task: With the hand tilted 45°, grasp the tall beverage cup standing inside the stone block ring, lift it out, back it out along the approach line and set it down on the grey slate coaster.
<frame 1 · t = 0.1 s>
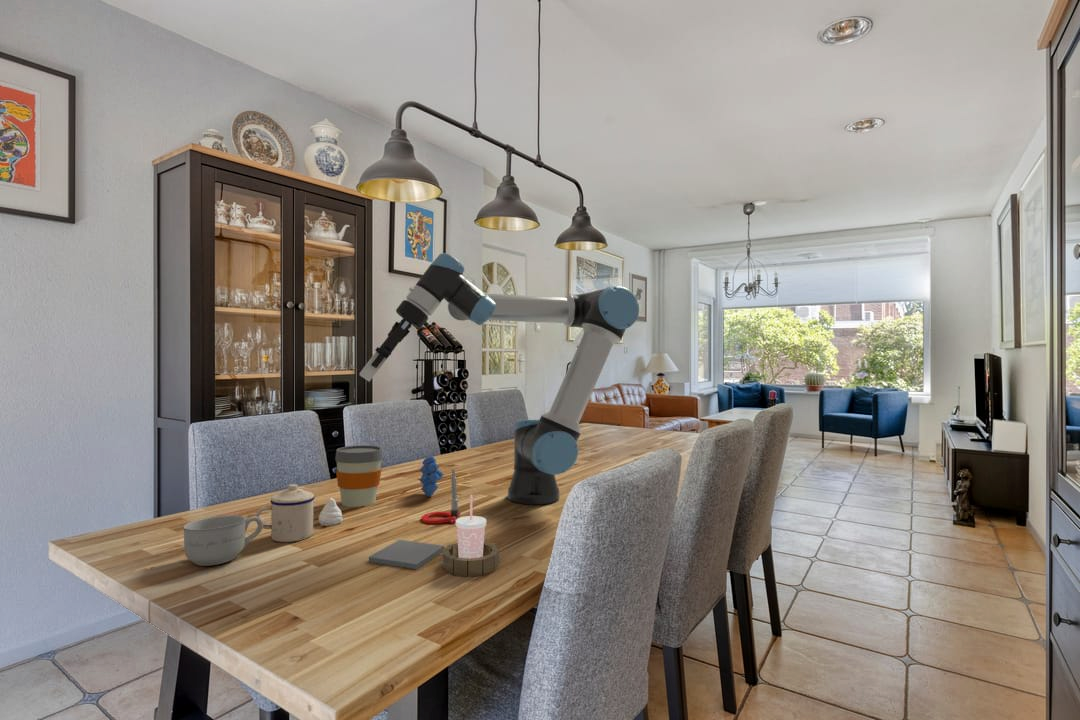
hand: (363, 377, 133), 36 cm above the table, tool tilted 35°, fingers open, 13 cm apart
coaster: (407, 556, 114), on the table
stone block ring: (470, 565, 109), on the table
beverage cup: (470, 566, 109), resting in stone block ring
tow hook: (439, 520, 139), on the table
white meringue swirl: (330, 524, 135), on the table
teacup: (224, 560, 110), on the table
teacup with lid: (285, 538, 124), on the table
reusable coffee cup: (358, 503, 153), on the table
grapes: (432, 496, 162), on the table
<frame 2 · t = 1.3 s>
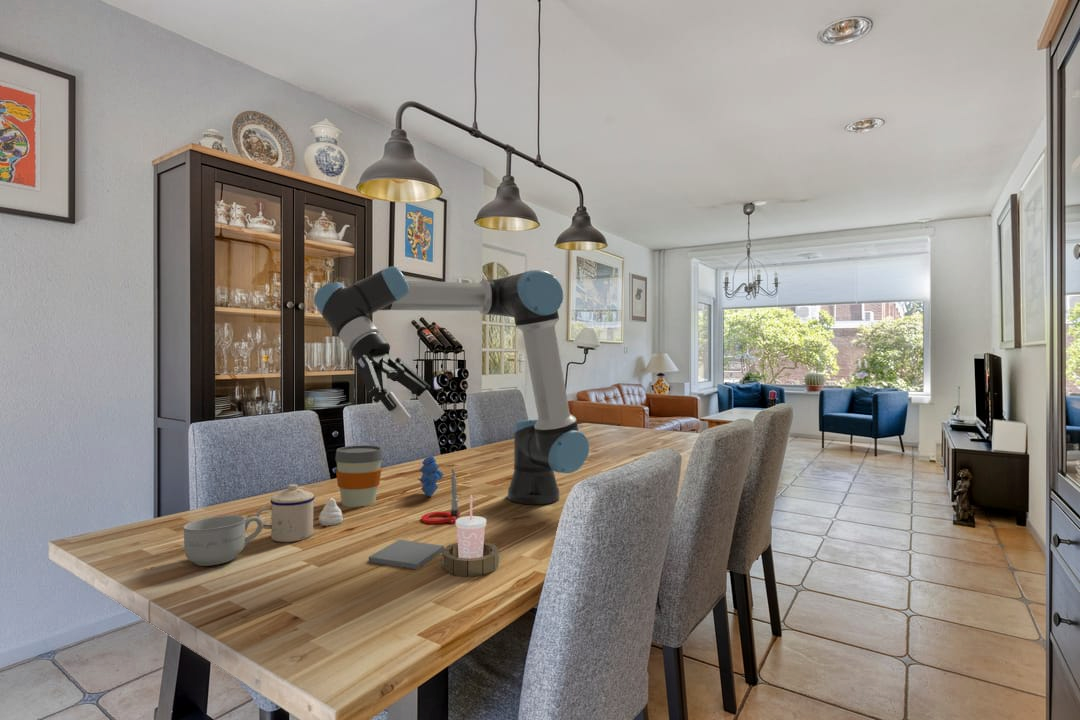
hand: (423, 419, 113), 28 cm above the table, tool tilted 45°, fingers open, 13 cm apart
nothing on the table moved.
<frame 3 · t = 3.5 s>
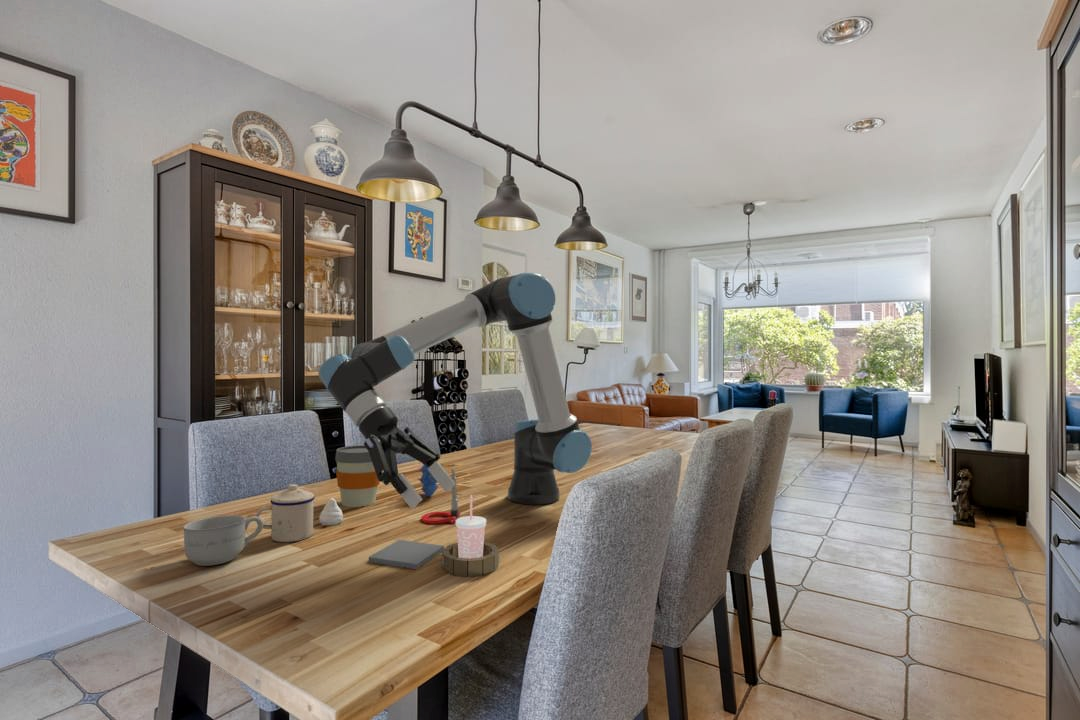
hand: (435, 496, 111), 13 cm above the table, tool tilted 45°, fingers open, 13 cm apart
nothing on the table moved.
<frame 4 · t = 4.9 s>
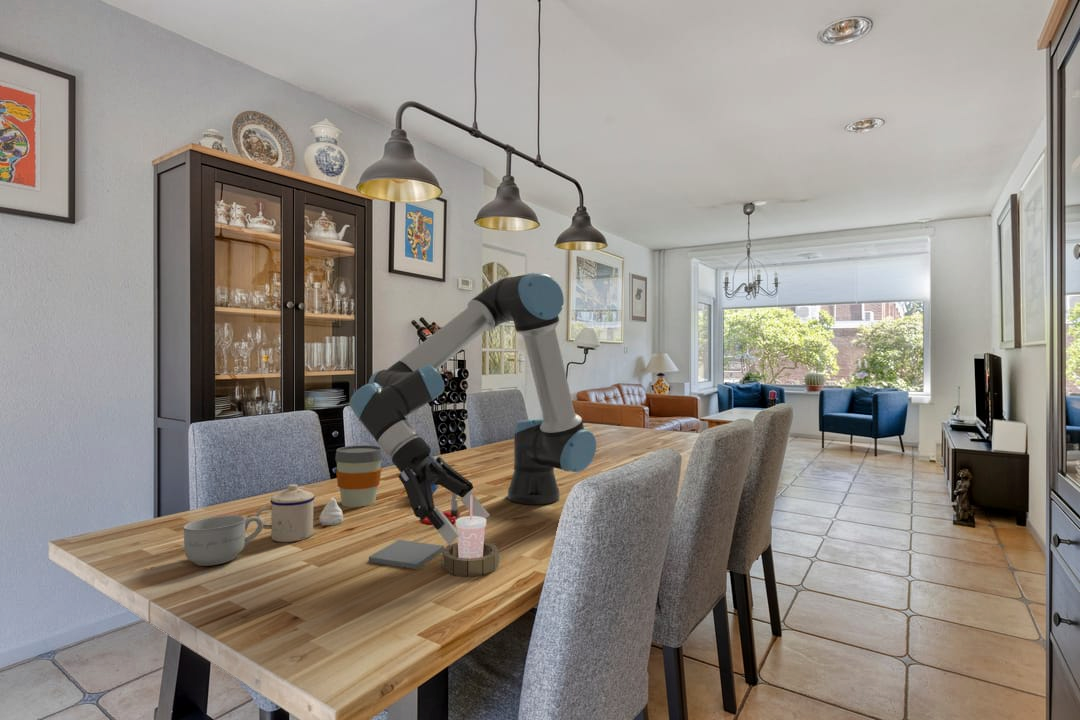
hand: (470, 529, 108), 7 cm above the table, tool tilted 45°, fingers open, 13 cm apart
nothing on the table moved.
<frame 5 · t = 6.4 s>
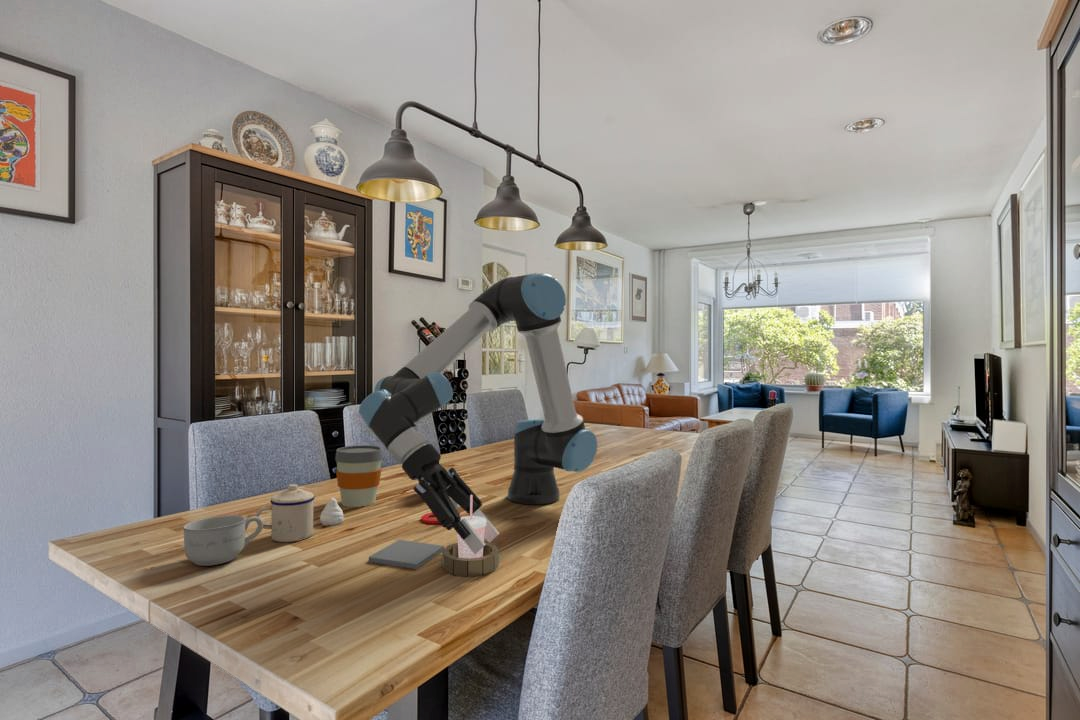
hand: (487, 543, 108), 5 cm above the table, tool tilted 45°, fingers closed on beverage cup, 6 cm apart
beverage cup: (470, 566, 109), resting in stone block ring, touching gripper
everything else where it was.
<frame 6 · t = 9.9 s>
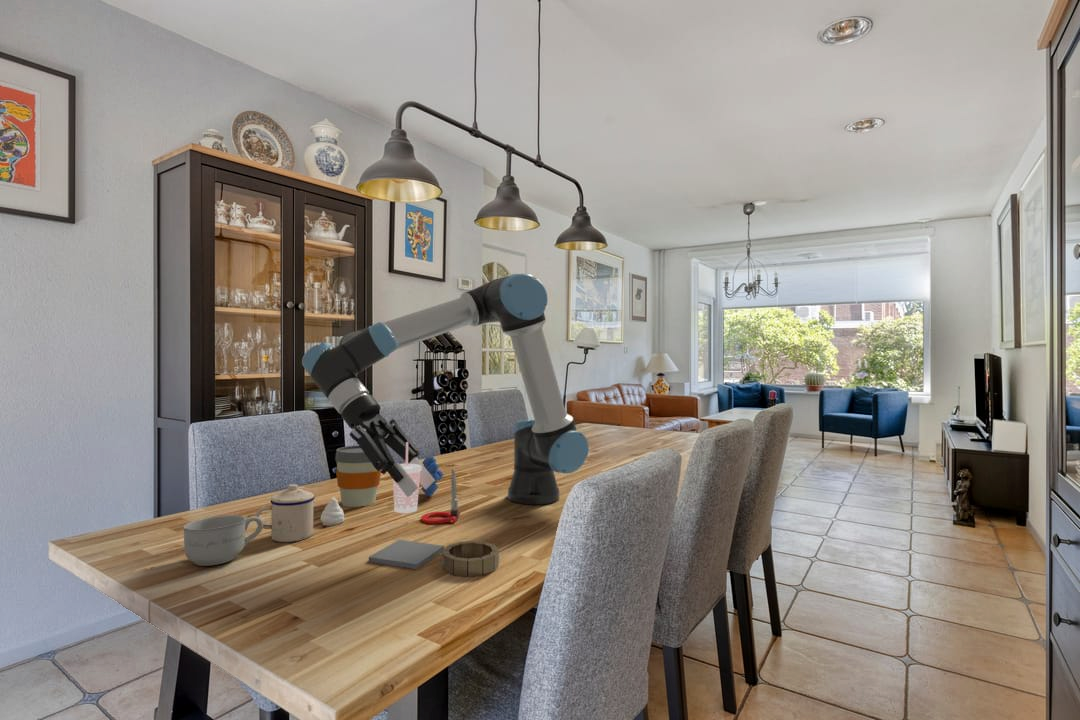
hand: (421, 488, 112), 14 cm above the table, tool tilted 45°, fingers closed on beverage cup, 6 cm apart
beverage cup: (405, 511, 113), point 9 cm above the table, touching gripper
everything else where it was.
when the fingers open (7 cm above the table, at t = 11.4 s): beverage cup drops 1 cm, resting on coaster.
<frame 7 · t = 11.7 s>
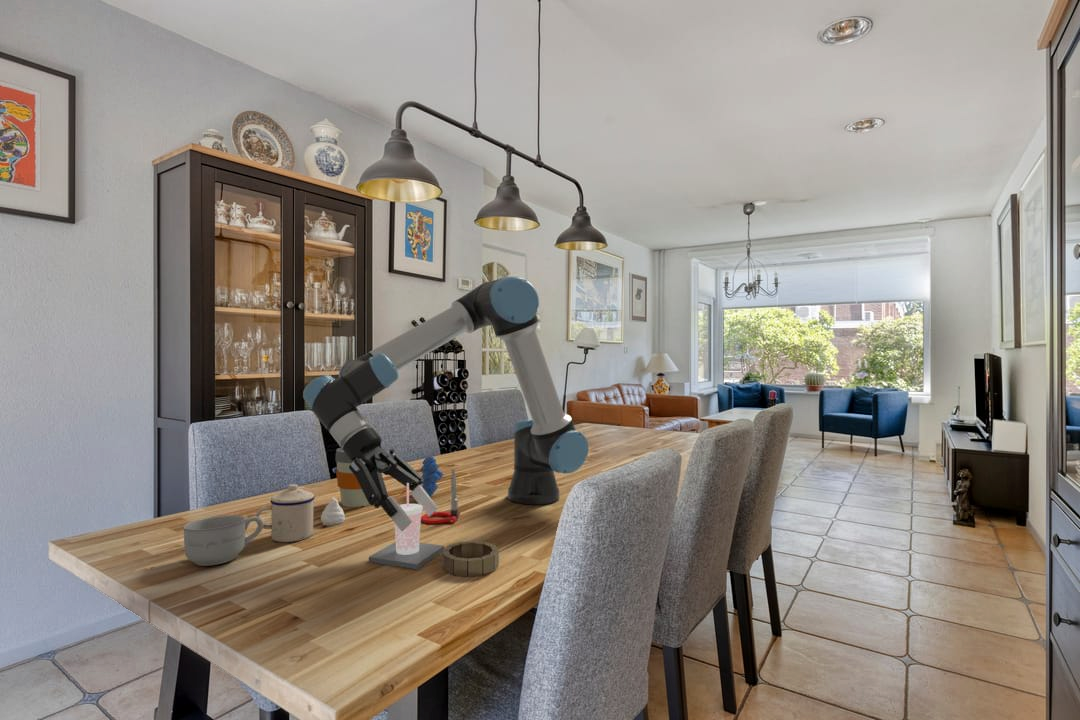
hand: (421, 519, 113), 8 cm above the table, tool tilted 45°, fingers open, 10 cm apart
beverage cup: (407, 551, 114), point 1 cm above the table, touching coaster
everything else where it was.
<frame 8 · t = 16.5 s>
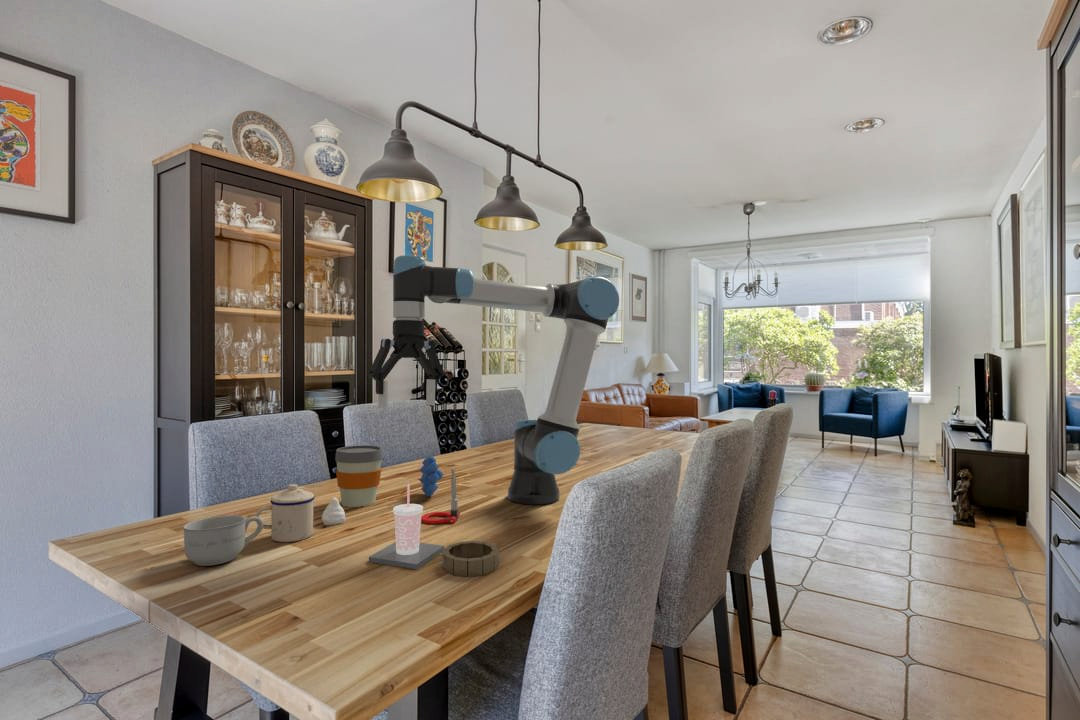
hand: (407, 406, 135), 29 cm above the table, tool pointing down, fingers open, 13 cm apart
nothing on the table moved.
at the end: beverage cup inside the target area on the coaster (0.1 cm from its centre), point 0.8 cm above the coaster's base; beverage cup tilted 0°; the gripper is holding nothing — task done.
